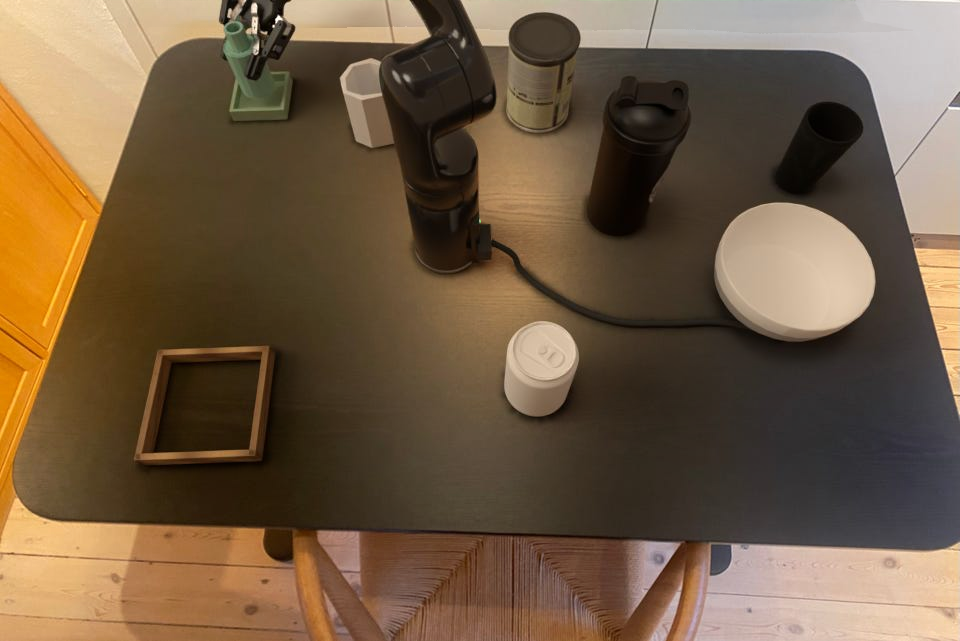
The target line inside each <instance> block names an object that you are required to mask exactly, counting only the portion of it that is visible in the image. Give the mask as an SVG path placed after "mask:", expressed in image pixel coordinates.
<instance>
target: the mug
mask: <svg viewBox="0 0 960 641" xmlns="http://www.w3.org/2000/svg"><path fill="white" fill-rule="evenodd" d="M380 63H381V61H380V60H377V59H375V58H372V57H370V58H366V59H363V60H361V61H357V62H354V63H350V64H349V65H348V66H347V68H346V69H345V71H344V72H343V73H342V74H341V76H340V77H339V81H340V86H341V90H342V94H343V97H344V101H345V105H346V109H347V113H348V117H349V120H350V124H351V128H352V132H353V135H354V141H355V142H356V143H358V144H362V145H363V146H366V147H369V148H371V149H376V148H380V147H383V146H388V145H394V142H393V137H392V132H391V127H390V123H389V119H388V115H387V112H386V108H385V104H384V101H383V97H382V93H381V88H380V83H379V67H380Z"/></svg>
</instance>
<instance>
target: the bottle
mask: <svg viewBox="0 0 960 641" xmlns="http://www.w3.org/2000/svg"><path fill="white" fill-rule="evenodd" d="M223 33H224V35H226V37H227V40H226V41H225V43H224V45H223V44H222V46H223V51H224V53H225V55H226V57H227V59H228V61H227V62H228V64H229V66H230V68H231V71H232V72H233V75H234V77H235V80H236V79H237V81H238V83H239V85H240V88H241V90H242V92H243V93H244V95H245V96H247V97H249V98H252V99H260V98H264V97H266V96H268V95H269V94H270V93H272V91H273V90H274V87H275V84H274V80H273V77H272V75H271V72H272V71H271V70H270V66H269V65H268V62H267V61H266V63H265V66H264V69H263V72H262V75H261V77H260V78H259V79H258V80H257V81H254V80H250V79H247V78H246V77H245V76H244V73H245V70H246V67H247V64H248V61H249V58H250V55H251V53H253V41H254V39H253V37H252V36H251V33H247V31H245V29H244V26H243V24H242V23H241V22H238V21H232V22H229V23H227V24H226V25H225V26H224V25H223ZM253 54H254V53H253Z"/></svg>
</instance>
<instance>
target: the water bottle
mask: <svg viewBox="0 0 960 641" xmlns="http://www.w3.org/2000/svg"><path fill="white" fill-rule="evenodd" d="M689 92H690V90H689V85H688V84H687V83H686V82H684V81H682V80H678V79H677V80H676V79H672V80H668V81H662V80H660V79H654V78H639V79H638V78H637V77H636V76H634V75H626V76H624V77H622V79H621V81H620V85H619V87H618V88H617V89H615V90H614V91H613V92H611V93H610V95H609V96H608V98H607V99H606V101H605V105H604V109H603V114H602V125H603V128H602V133H601V137H600V143H599V148H598V153H597V157H596V161H595V167H594V172H593V178H592V181H591V187H590V191H589V195H588V201H587V206H586V214H587V215H586V216H587V219H588V220H589V223H590V224H591V225H592V226H593V227H594V228H595V229H596V230H598V231H599V232H601V233H602V234H605V235H608V236H613V237H624V236H625V237H626V236H628V235H631V234H633V233H635V232H636V231H637V230H639V229H640V228H641V227H642V225H643V223H644V220H645V218H646V216H647V215H648V212H649V209H650V208H651V205H652V203H653V201H654V199H655V197H656V195H657V192H658V191H659V188H660V186H661V184H662V182H663V180H664V177H665V175H666V173H667V171H668V169H669V166H670V165H671V161H672V159H673V156H674V154H675V153H676V150H677V148H678V146H679V145H680V144H681V143H682V142H683V140H684V139H685V138H686V136H687V133H688V131H689V128H690V125H691V121H692V112H691V108H690V106H689V104H688V103H689V96H690V93H689Z"/></svg>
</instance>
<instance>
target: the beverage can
mask: <svg viewBox="0 0 960 641" xmlns="http://www.w3.org/2000/svg"><path fill="white" fill-rule="evenodd" d="M579 361H580V353H579V349H578V345H577V342H576V341H575V339H574V338H573V336H572V335H571V334H570V332H569V331H568V330H567V329H565V328H564V327H563V326H561V325H559V324H558V323H555V322H552V321H548V320H547V321H546V320H539V321H538V320H537V321H534V322H530V323H528V324H526V325H524V326H522V327H520V329H519V330H517V331H516V332H515V333H514V334H513V336H512V337H511V338H510V340H509V343H508V345H507V350H506V359H505V370H504V381H503V383H504V384H503V388H504V393H505V397H506V398H507V400H508V402H509V404H510V405H511V406H512V407H513V408H514V409H515V410H517V411H518V412H520V413H521V414H524V415H526V416H530V417H545V416H549V415H551V414H553V413H555V412H556V411H557V410H559V409H560V408H561V407H562V405H563V404H564V403H565V401H566V399H567V397H568V394H569V391H570V388H571V386H572V384H573V380H574V377H575V375H576V372H577V369H578V366H579Z"/></svg>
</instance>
